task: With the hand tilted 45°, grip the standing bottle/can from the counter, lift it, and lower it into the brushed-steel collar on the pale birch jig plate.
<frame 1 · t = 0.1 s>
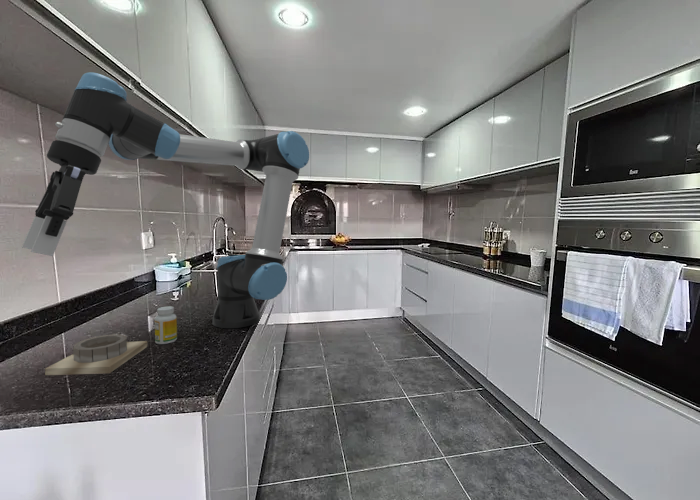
hand: (36, 251, 56), 28 cm above the worktop, tool tilted 20°, fingers open, 13 cm apart
jig plate: (102, 359, 74), on the worktop
supplement bottle: (166, 341, 86), on the worktop
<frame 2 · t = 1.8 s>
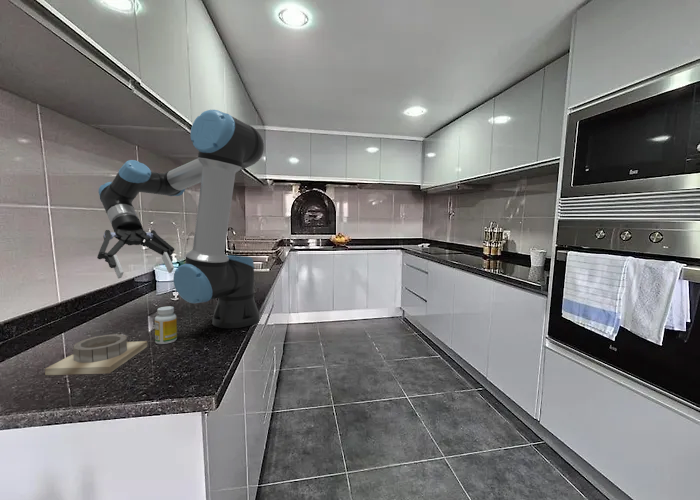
hand: (147, 272, 91), 19 cm above the worktop, tool tilted 45°, fingers open, 13 cm apart
nothing on the worktop moved.
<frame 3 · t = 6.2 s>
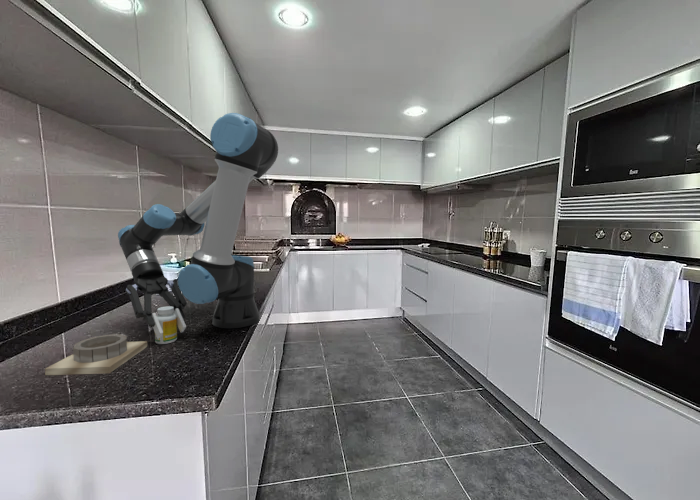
hand: (172, 332, 84), 3 cm above the worktop, tool tilted 45°, fingers closed on supplement bottle, 5 cm apart
supplement bottle: (166, 341, 86), on the worktop, touching gripper
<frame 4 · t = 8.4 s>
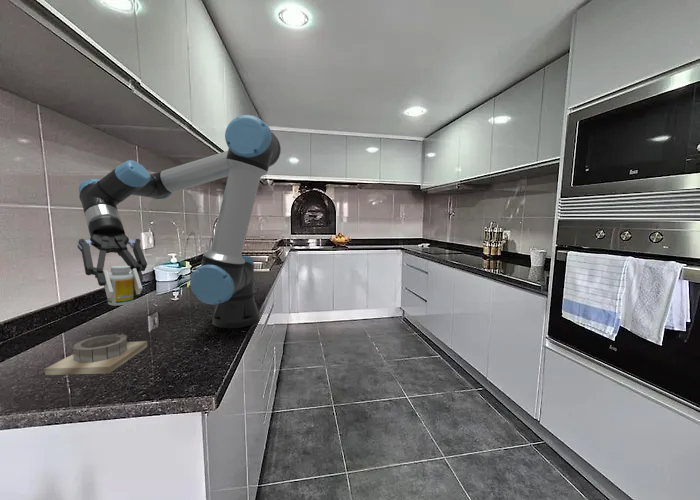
hand: (125, 293, 76), 16 cm above the worktop, tool tilted 45°, fingers closed on supplement bottle, 5 cm apart
supplement bottle: (121, 303, 79), point 12 cm above the worktop, touching gripper
when the fingers open (6 cm above the worktop, at t = 10.5 s): supplement bottle stays where it is, resting on jig plate.
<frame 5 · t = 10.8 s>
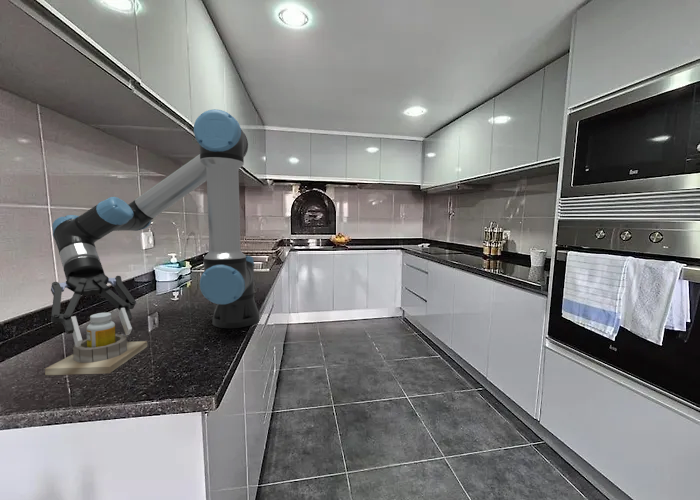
hand: (105, 337, 72), 6 cm above the worktop, tool tilted 45°, fingers open, 9 cm apart
supplement bottle: (102, 353, 74), point 1 cm above the worktop, touching jig plate
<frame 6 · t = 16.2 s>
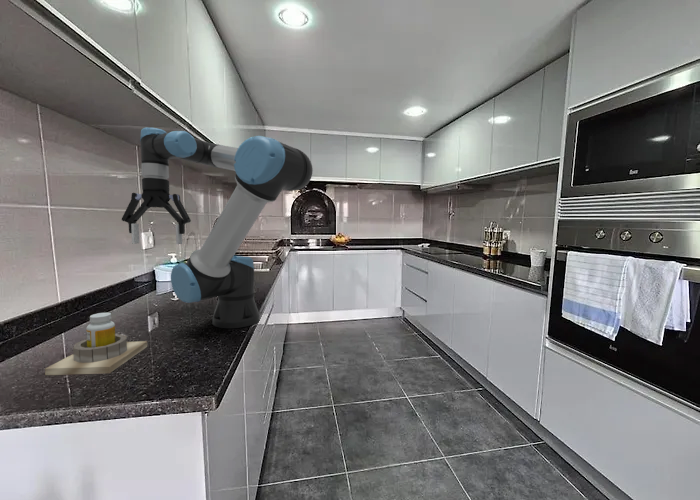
hand: (157, 243, 100), 27 cm above the worktop, tool pointing down, fingers open, 13 cm apart
nothing on the worktop moved.
at the end: supplement bottle 0.1 cm off-centre on the jig plate, point 1.3 cm above the jig plate's base; supplement bottle tilted 0°; the gripper is holding nothing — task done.
